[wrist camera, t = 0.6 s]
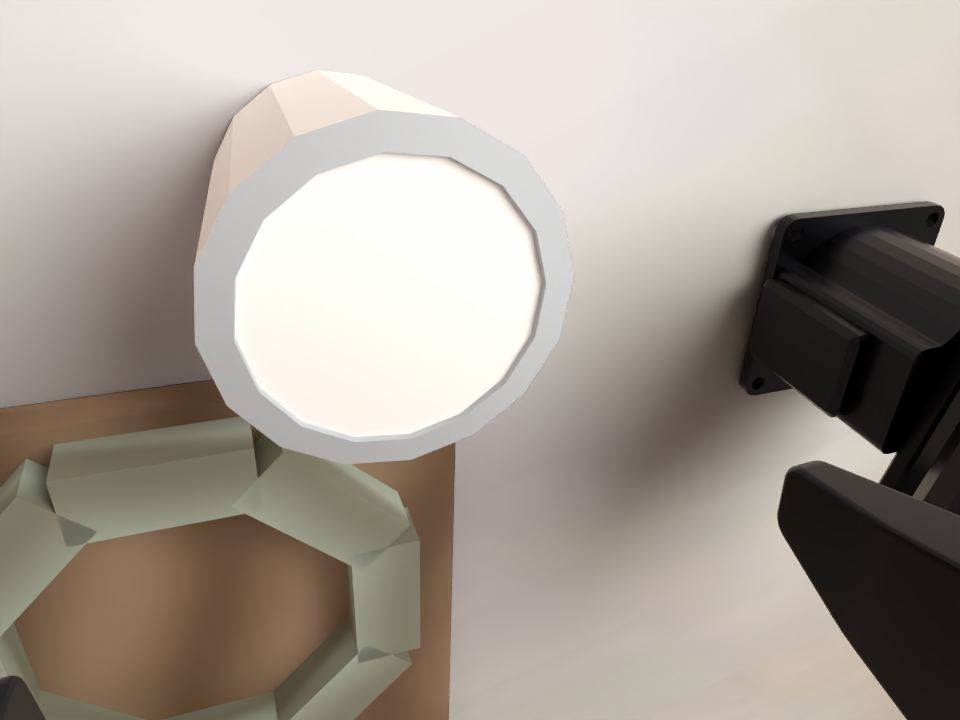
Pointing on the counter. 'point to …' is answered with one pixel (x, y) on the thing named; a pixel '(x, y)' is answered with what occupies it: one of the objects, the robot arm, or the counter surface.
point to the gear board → (217, 567)
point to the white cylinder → (373, 271)
